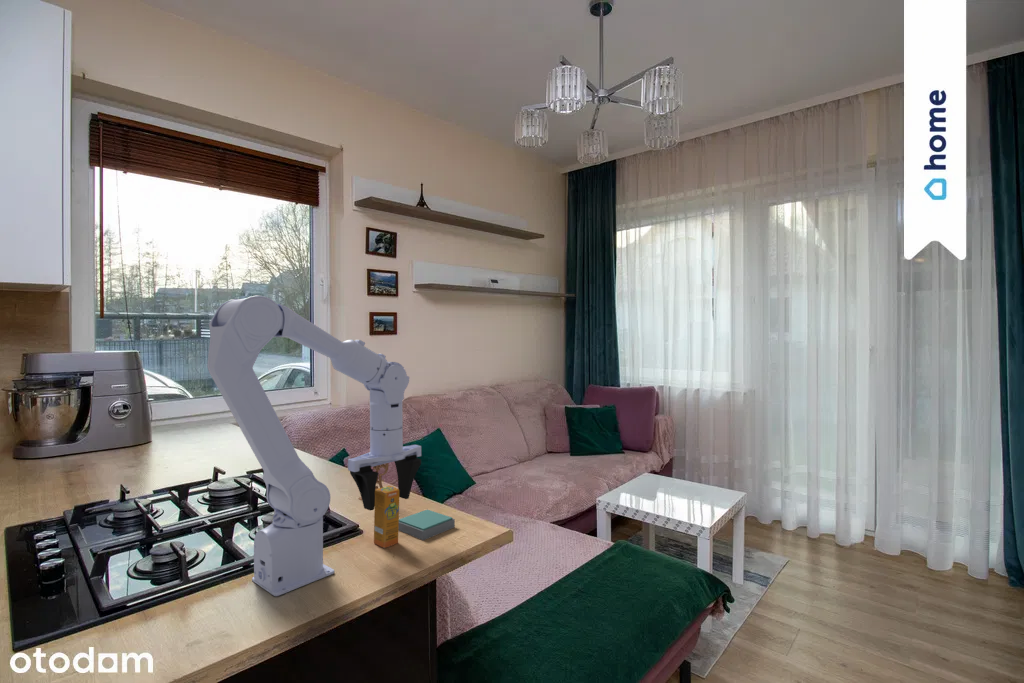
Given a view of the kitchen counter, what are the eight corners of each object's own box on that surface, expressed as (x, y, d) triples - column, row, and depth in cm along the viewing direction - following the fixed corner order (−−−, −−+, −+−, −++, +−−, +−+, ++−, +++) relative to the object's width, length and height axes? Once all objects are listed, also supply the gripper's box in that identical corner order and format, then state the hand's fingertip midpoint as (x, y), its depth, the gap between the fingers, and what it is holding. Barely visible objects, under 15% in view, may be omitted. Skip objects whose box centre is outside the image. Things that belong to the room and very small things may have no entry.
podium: (423, 540, 91) (423, 529, 91) (395, 530, 96) (395, 519, 96) (454, 527, 97) (454, 517, 97) (427, 518, 102) (427, 508, 102)
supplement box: (384, 549, 87) (384, 492, 87) (373, 544, 90) (373, 488, 90) (400, 543, 90) (399, 488, 90) (389, 538, 92) (388, 484, 92)
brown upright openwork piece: (357, 501, 113) (357, 449, 113) (372, 497, 116) (372, 446, 116) (381, 510, 107) (381, 454, 107) (396, 505, 110) (395, 451, 110)
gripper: (364, 437, 82) (365, 519, 82) (431, 424, 93) (432, 497, 93) (340, 432, 86) (341, 510, 86) (407, 420, 97) (408, 490, 97)
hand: (387, 503), depth 90 cm, fingers open, 7 cm apart
